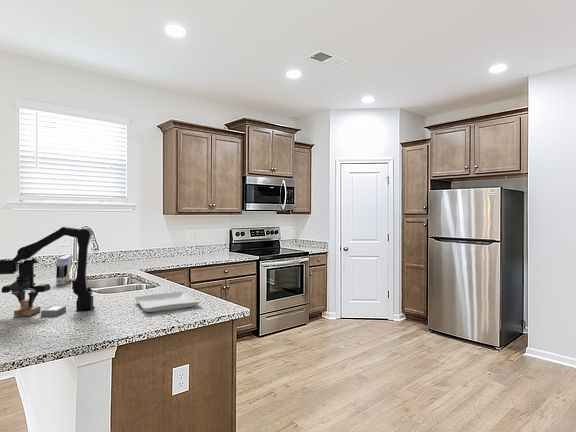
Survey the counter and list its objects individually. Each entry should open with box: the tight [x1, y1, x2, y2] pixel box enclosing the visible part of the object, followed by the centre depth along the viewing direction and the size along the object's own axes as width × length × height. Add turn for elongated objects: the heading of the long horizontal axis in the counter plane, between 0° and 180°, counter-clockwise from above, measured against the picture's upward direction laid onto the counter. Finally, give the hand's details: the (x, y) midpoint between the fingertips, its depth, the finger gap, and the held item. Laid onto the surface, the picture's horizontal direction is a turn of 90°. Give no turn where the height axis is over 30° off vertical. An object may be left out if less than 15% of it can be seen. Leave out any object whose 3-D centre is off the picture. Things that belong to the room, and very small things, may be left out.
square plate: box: [133, 291, 200, 313], centre depth 190 cm, size 27×27×4 cm
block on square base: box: [13, 298, 41, 317], centre depth 172 cm, size 7×8×6 cm
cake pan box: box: [55, 254, 74, 286], centre depth 248 cm, size 19×5×18 cm, turn 14°
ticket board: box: [40, 305, 67, 317], centre depth 173 cm, size 7×8×3 cm
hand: (26, 306), depth 172 cm, fingers closed on block on square base, 3 cm apart
